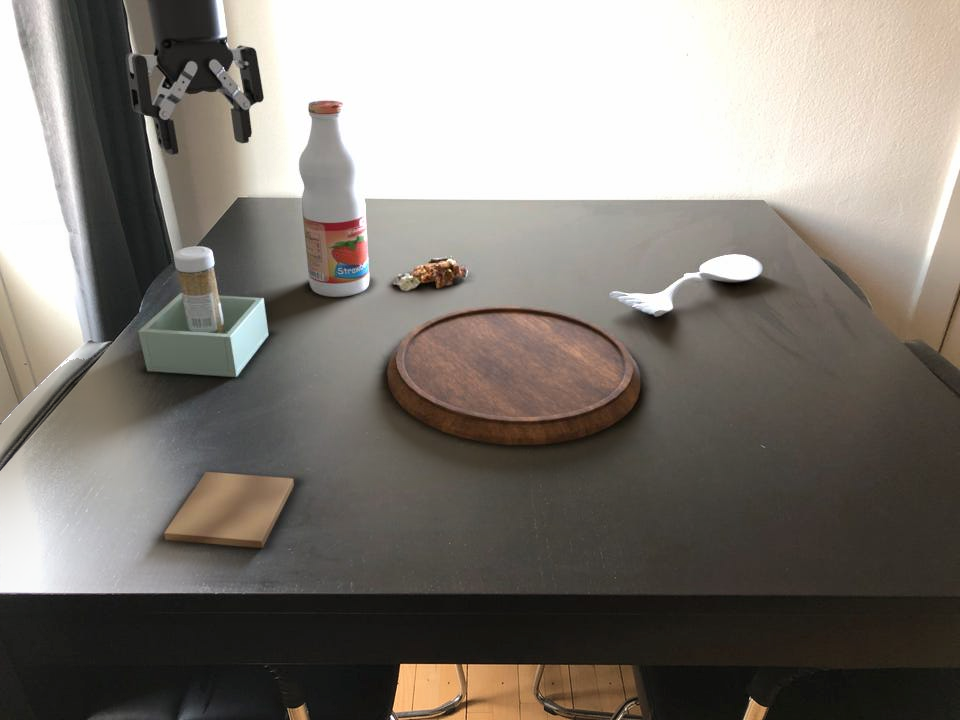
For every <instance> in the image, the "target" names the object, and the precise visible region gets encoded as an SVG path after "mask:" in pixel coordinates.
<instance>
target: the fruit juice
mask: <svg viewBox="0 0 960 720" xmlns="http://www.w3.org/2000/svg"><path fill="white" fill-rule="evenodd" d="M307 110H308V115H309V116H310V119H311V127H310V133H309V136H308V140H307V144H306V146H305V148H304V149H303V151H302V152H301V154H300V157H299V158H298V159H299V160H298V171H299V175H300V178H301V180H302V184H303V187H304V188H303V192H302V194H301V214H302V221H303V233H304V241H305V251H306V260H307V261H306V262H307V271H308V283H309V286H310V288H311V290H312V291H313V292H314V293H316V294H318V295H321V296H325V297H333V298H336V297H337V298H339V297H340V298H342V297H348V296H353V295H358V294H360V293H362V292H364V291H365V290H366V289H367V288H368V287H369V284H370V265H369V248H368V246H369V245H368V233H367V232H368V231H367V229H368V228H367V209H366V202H365V195H364V192H363V190H362V187H361V178H362V174H363V173H362V172H363V164H362V163H363V162H362V158H361V156H360V154H359V152H358V151H357V150H356V148H355V147H354V146H353V144H352V143H351V141H350V139H349V137H348V134H347V132H346V128H345V125H344V121H343V116H344V114H345V107H344V103H343V102H341V101H338V100H315V101H311V102H309V103H308V109H307Z"/></svg>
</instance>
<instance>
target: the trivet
mask: <svg viewBox="0 0 960 720" xmlns="http://www.w3.org/2000/svg"><path fill="white" fill-rule="evenodd" d="M294 486H295V483H294V478H290V477H280V476H279V477H277V476H267V475H266V476H265V475H253V474H252V475H251V474H239V473H238V474H237V473H229V472H228V473H226V472H214V471H213V472H212V471H205V472H204V473H203V475H202V477H201V478H200V479H199V481H198V483H197V484H196V486H195V487H194V488H193V490H192V491H191V493H190V494H189V496H188V497H187V498H186V500H185V502H184V503H183V505H182V506H181V508H180V509H179V510H178V512H176V514H175V516H174V518H173V519H172V521H171V522H170V523H169V525H168V526H167V528H166V529H165V530H164V533H163V535H164V539H165V541H173V542H174V541H176V542H187V543H199V544H210V545H211V544H212V545H221V546H222V545H223V546H234V547H246V548H257V549H258V548H259V549H263V548H264V546H265V544H266V542H267V540H268V538H269V536H270V534H271V532H272V530H273V528H274V526H275V524H276V521H278V518H279V516H280V514H281V512H282V510H283V508H284V507H285V504H286V502H287V500H288V498H289V496H290V494H291V492H292V491H293V488H294Z"/></svg>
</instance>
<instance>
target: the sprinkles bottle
mask: <svg viewBox="0 0 960 720" xmlns="http://www.w3.org/2000/svg"><path fill="white" fill-rule="evenodd" d="M173 260H174V266H175V269H176V272H177V275H178V280H179V284H180V289H181V290H180V291H181V292H180V293H182V297H183V302H184V308H185V313H186V318H187V323H188V328H189V331H190V332H204V333H220V334H225V329H224V320H223V314H222V309H221V303H220V301H219V296H220V295H219V290H218V284H217V279H216V273H215V258H214V252H213V250H212V249H211V248H209V247H205V246H202V245H201V246H200V245H199V246H198V245H196V246H195V245H194V246H188V247H183V248H180V249H178V250H176V251H174V253H173Z"/></svg>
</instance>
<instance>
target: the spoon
mask: <svg viewBox="0 0 960 720" xmlns="http://www.w3.org/2000/svg"><path fill="white" fill-rule="evenodd" d="M763 269H764V268H763V264H762V263H761V262H760V261H759V260H758V259H756V258H754V257H751V256H749V255H744V254H726V255H721V256H718V257H715V258H712V259H709V260H708V261H706V262H704V263H702V264H701V265H700V267H699V271H698V272H688V273H687V272H686V273H685V274H684V275H683V277H681V278H680V279H678V280H677V281H675V282H674V283H673V284H671V285H670V286H669V287H667V288H666V289H665V290H664V289H663V291H661V292H658V293H652V294H648V293H647V294H645V293H625V292H621V291H612V292H610V293H609V298H610V299H616V300H617V301H618V302H619V303H623V304H624V305H625V306H629V307H632V308H633V309H634V310H636V311H641V312H642V313H645V314H648V315H653V317H661V316H662V315H665V314H666V313H668V312H671V311H672V310H673V309H674V305H673V300H674V298H675V296H676V294H677V293H678V292H679V291H680V290H681V288H683V287H685V286H687V285H689V284H694V283H702V282H703V280H704V279H709V280H714V281H719V282H724V283H743V282H747V281H751V280H753V279H755V278H757V277H758V276H760V275H761V273H762V272H763Z"/></svg>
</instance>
